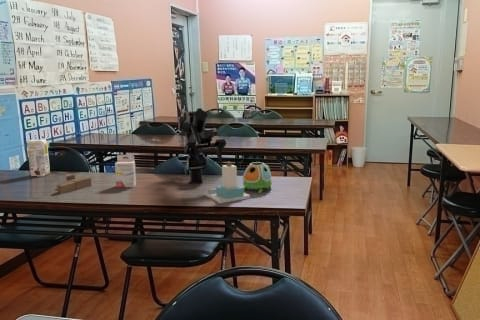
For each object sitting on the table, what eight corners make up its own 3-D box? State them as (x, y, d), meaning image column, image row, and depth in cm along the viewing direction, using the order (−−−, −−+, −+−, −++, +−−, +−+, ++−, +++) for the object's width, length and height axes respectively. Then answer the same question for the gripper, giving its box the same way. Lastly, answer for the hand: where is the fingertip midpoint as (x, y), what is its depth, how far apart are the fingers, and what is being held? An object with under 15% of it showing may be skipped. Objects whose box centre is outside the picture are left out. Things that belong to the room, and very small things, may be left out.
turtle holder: (280, 185, 202) (280, 160, 199) (262, 194, 186) (262, 167, 184) (256, 182, 208) (256, 158, 205) (237, 191, 192) (237, 165, 190)
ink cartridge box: (115, 187, 202) (113, 156, 199) (118, 185, 207) (116, 154, 204) (134, 187, 202) (132, 156, 200) (136, 184, 207) (134, 154, 204)
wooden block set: (92, 174, 207) (60, 183, 192) (93, 186, 208) (61, 195, 193) (68, 171, 216) (36, 179, 200) (69, 182, 217) (37, 190, 201)
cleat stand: (205, 195, 187) (204, 184, 186) (233, 190, 193) (233, 180, 193) (220, 203, 175) (219, 191, 174) (250, 197, 182) (249, 187, 181)
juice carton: (45, 176, 228) (41, 140, 224) (29, 177, 228) (25, 141, 224) (51, 173, 235) (48, 138, 231) (36, 173, 235) (32, 139, 232)
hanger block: (222, 194, 183) (221, 161, 180) (231, 193, 185) (231, 160, 182) (227, 197, 179) (227, 163, 176) (237, 195, 181) (236, 162, 178)
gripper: (185, 123, 186) (197, 152, 179) (224, 120, 195) (236, 148, 188) (179, 139, 195) (190, 168, 187) (216, 136, 204) (228, 163, 196)
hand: (211, 161), depth 189 cm, fingers open, 9 cm apart
